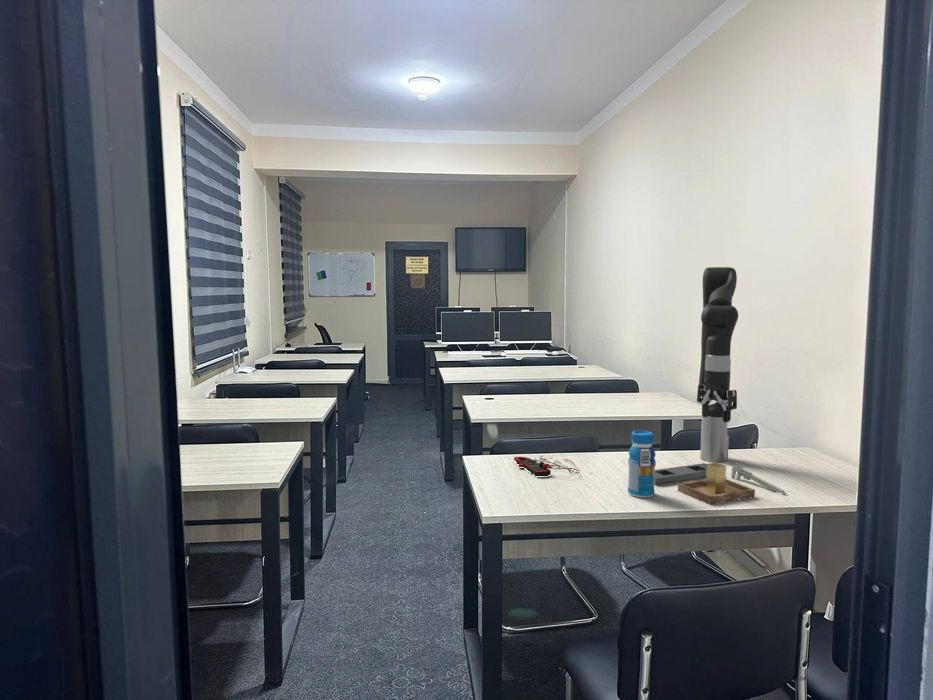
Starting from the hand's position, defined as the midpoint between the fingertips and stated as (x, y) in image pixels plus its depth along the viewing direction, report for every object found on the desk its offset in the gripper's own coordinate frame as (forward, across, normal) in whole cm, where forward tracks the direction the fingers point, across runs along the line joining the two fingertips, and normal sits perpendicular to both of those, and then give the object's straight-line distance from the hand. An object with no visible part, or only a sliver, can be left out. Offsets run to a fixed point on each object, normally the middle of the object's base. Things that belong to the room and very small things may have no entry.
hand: (715, 419), depth 191 cm
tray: (+24, -2, +1) cm, 24 cm away
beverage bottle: (+24, +7, +23) cm, 34 cm away
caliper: (+24, -1, -18) cm, 31 cm away
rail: (+24, +16, -1) cm, 29 cm away
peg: (+23, -2, +1) cm, 23 cm away
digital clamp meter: (+25, +43, +34) cm, 61 cm away
